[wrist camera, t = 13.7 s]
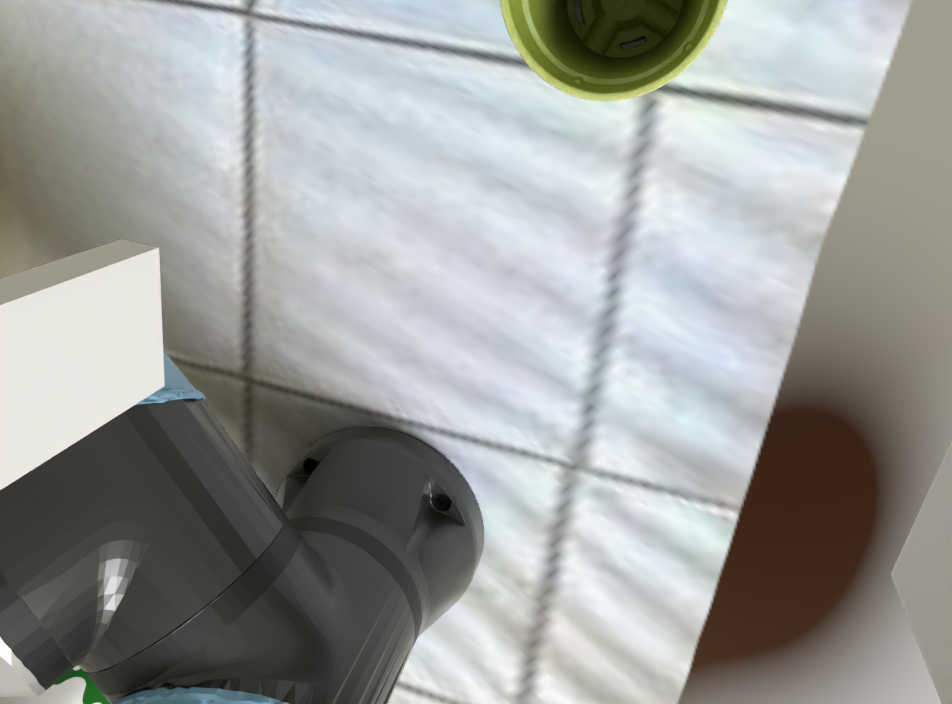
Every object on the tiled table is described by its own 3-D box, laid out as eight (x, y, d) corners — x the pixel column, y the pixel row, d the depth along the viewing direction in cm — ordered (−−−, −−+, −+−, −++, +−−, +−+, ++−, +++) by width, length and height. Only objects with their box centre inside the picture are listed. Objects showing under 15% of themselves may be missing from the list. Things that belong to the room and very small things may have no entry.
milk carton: (191, 654, 65) (2, 882, 47) (107, 647, 68) (-101, 861, 50) (162, 571, 62) (-51, 780, 44) (76, 567, 65) (-158, 763, 47)
